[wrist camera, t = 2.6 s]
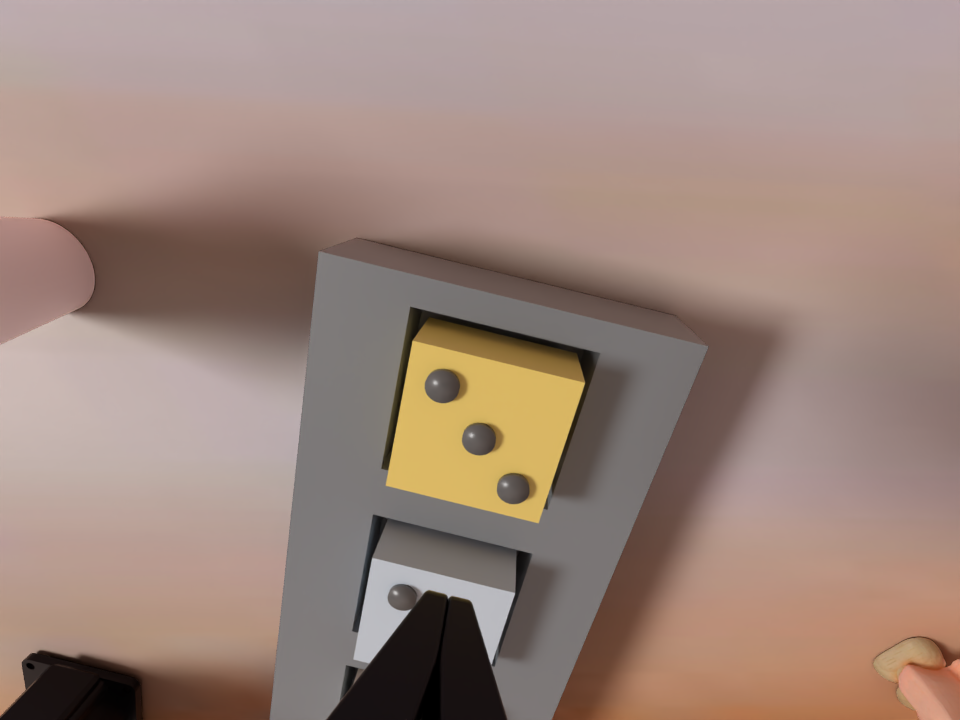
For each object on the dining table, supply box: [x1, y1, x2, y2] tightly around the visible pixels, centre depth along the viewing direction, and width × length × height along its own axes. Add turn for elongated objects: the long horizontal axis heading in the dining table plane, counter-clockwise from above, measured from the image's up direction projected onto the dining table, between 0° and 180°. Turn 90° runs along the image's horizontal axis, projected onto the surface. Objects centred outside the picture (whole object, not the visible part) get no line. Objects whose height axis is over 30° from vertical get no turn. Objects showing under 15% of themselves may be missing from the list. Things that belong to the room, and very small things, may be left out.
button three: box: [386, 317, 585, 523], centre depth 16 cm, size 5×5×3 cm
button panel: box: [270, 238, 709, 720], centre depth 21 cm, size 24×12×4 cm, turn 167°
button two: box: [353, 518, 516, 665], centre depth 19 cm, size 5×5×3 cm
